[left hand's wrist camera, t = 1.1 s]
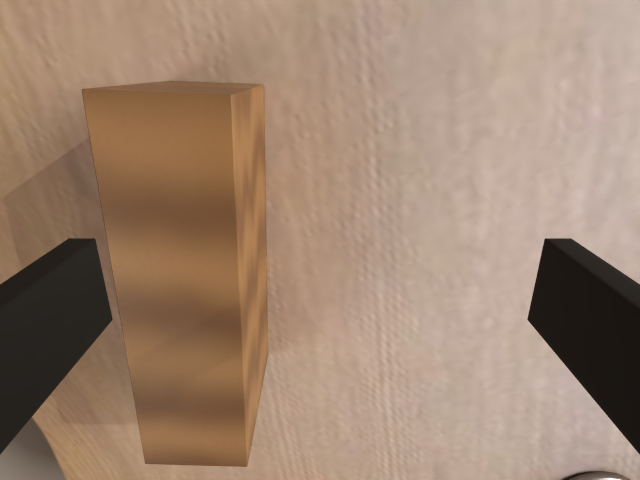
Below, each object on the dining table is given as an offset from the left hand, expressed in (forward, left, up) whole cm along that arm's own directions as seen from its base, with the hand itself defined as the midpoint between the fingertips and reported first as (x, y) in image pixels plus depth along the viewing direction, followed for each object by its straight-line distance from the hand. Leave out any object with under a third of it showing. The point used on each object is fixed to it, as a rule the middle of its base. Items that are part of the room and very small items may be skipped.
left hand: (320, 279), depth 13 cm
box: (+6, -7, -18) cm, 20 cm away
